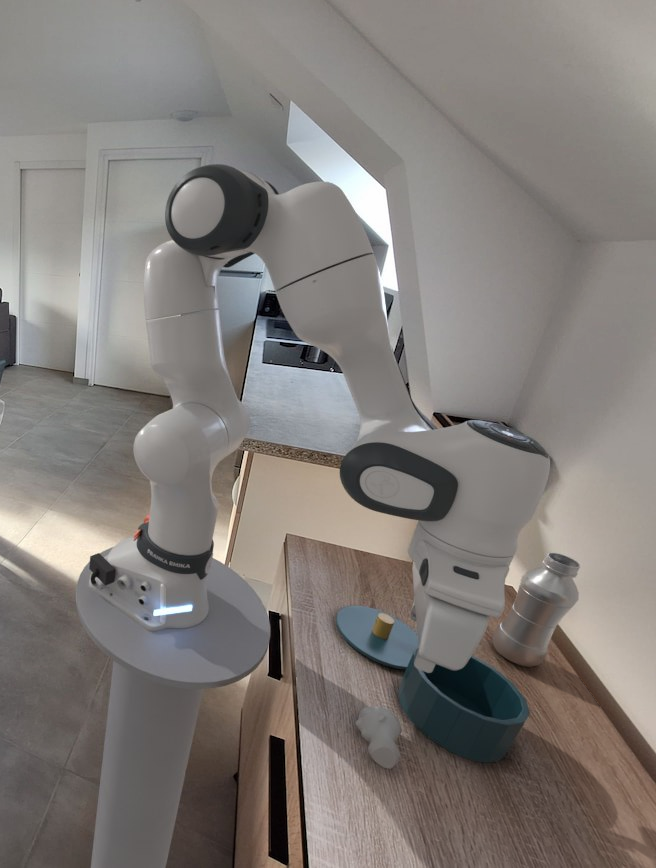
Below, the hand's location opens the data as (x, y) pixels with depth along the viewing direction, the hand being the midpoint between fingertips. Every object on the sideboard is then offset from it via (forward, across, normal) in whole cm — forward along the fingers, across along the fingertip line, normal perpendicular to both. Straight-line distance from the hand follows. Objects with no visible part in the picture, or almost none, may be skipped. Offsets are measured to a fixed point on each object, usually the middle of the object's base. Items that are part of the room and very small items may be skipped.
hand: (419, 641), depth 59 cm
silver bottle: (+16, -28, +18) cm, 37 cm away
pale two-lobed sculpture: (+16, +4, -1) cm, 17 cm away
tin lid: (+15, -18, -1) cm, 24 cm away
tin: (+16, -7, +8) cm, 19 cm away
